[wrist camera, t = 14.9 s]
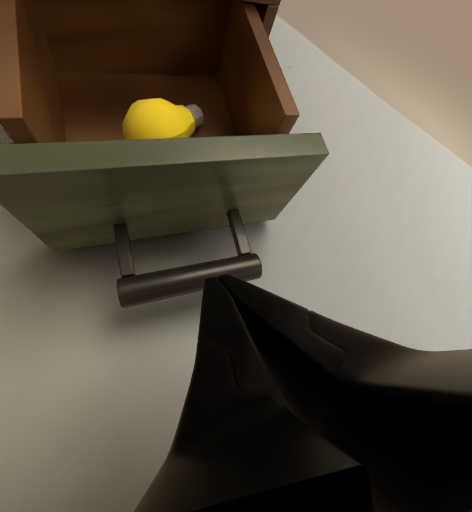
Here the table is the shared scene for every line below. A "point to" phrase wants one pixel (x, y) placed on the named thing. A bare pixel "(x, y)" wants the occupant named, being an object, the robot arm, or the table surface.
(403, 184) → the table surface
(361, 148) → the table surface
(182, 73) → the drawer
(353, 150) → the table surface
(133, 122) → the light bulb
